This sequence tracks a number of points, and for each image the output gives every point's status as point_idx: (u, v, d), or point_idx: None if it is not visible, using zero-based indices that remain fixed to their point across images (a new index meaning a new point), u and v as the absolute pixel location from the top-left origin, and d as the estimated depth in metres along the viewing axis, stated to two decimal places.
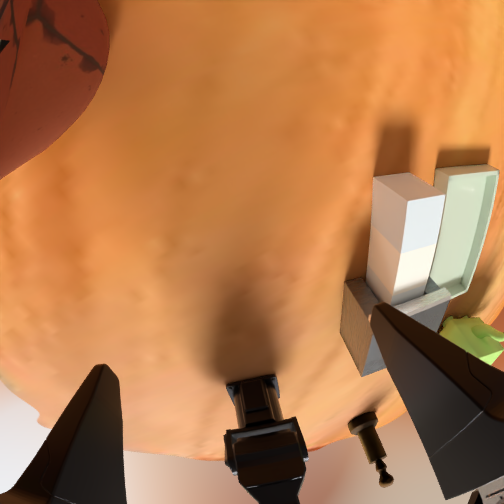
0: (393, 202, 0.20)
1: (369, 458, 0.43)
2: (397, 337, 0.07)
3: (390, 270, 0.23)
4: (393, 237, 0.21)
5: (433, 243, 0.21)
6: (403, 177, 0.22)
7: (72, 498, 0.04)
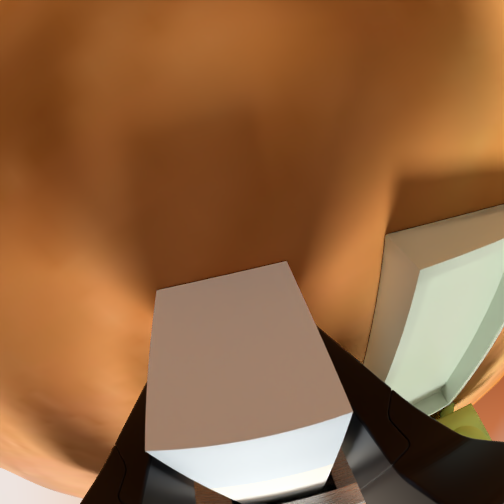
0: None
1: None
2: None
3: None
4: None
5: (321, 466, 0.07)
6: (245, 292, 0.08)
7: None
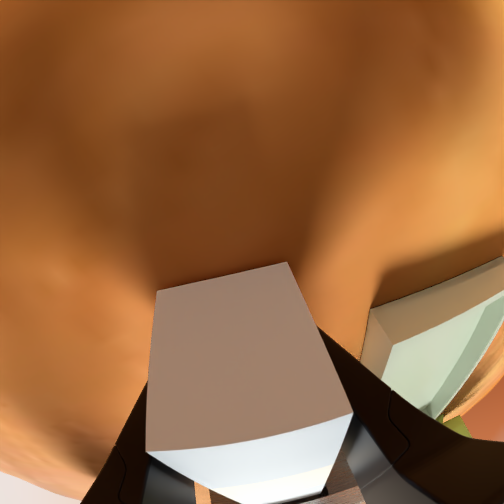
0: None
1: None
2: None
3: None
4: None
5: (321, 466, 0.07)
6: (245, 293, 0.08)
7: None
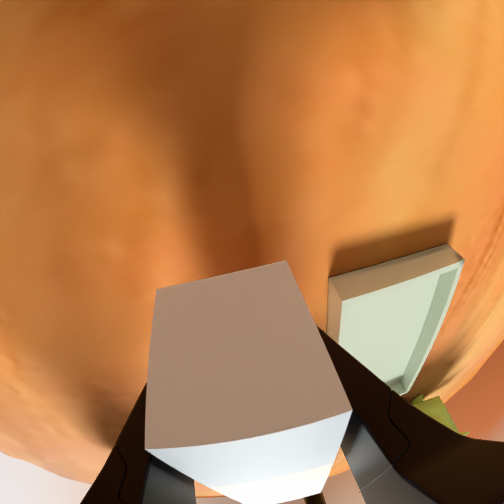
0: None
1: None
2: None
3: None
4: None
5: (321, 465, 0.07)
6: (245, 291, 0.08)
7: None
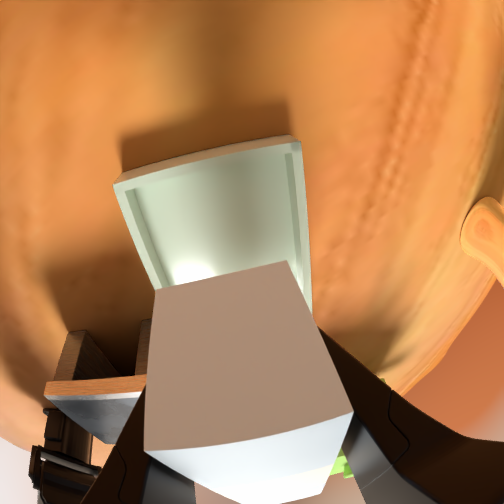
0: None
1: None
2: None
3: None
4: None
5: (321, 466, 0.07)
6: (245, 291, 0.08)
7: None
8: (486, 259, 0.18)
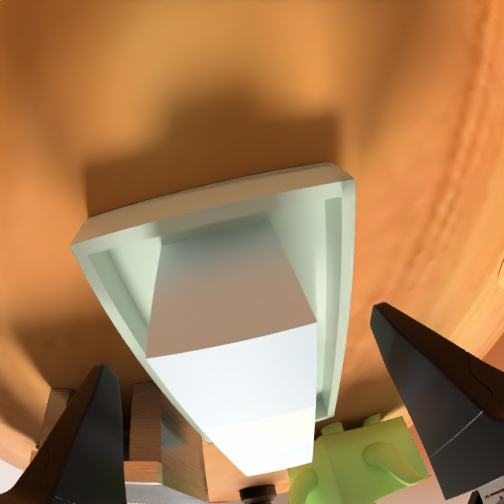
0: None
1: None
2: (397, 337, 0.07)
3: None
4: None
5: (304, 407, 0.09)
6: (234, 243, 0.10)
7: (72, 498, 0.04)
8: None
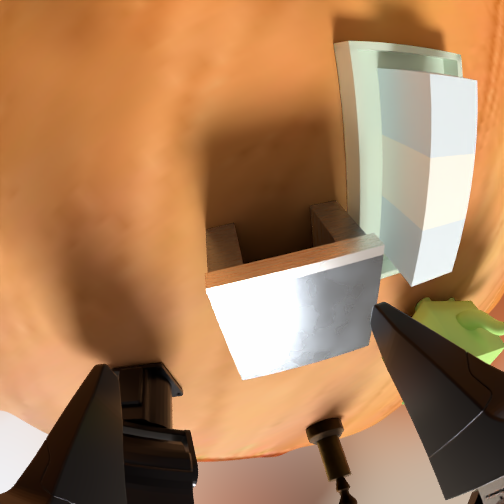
0: (409, 86, 0.12)
1: (328, 475, 0.35)
2: (397, 337, 0.07)
3: (416, 191, 0.15)
4: (416, 138, 0.13)
5: (471, 152, 0.12)
6: None
7: (72, 498, 0.04)
8: None
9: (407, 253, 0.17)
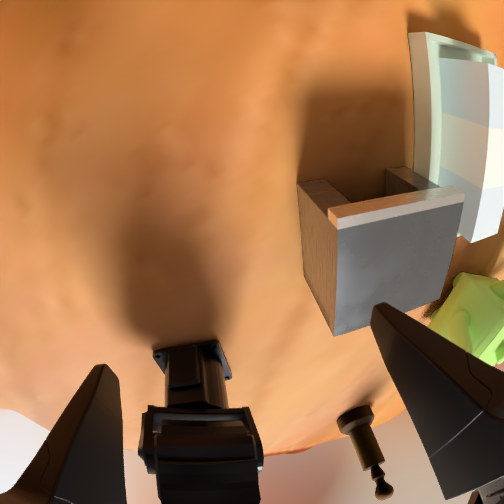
0: (470, 72, 0.12)
1: (363, 464, 0.34)
2: (397, 337, 0.07)
3: (476, 156, 0.15)
4: (476, 112, 0.13)
5: None
6: None
7: (72, 498, 0.04)
8: None
9: (466, 213, 0.17)
